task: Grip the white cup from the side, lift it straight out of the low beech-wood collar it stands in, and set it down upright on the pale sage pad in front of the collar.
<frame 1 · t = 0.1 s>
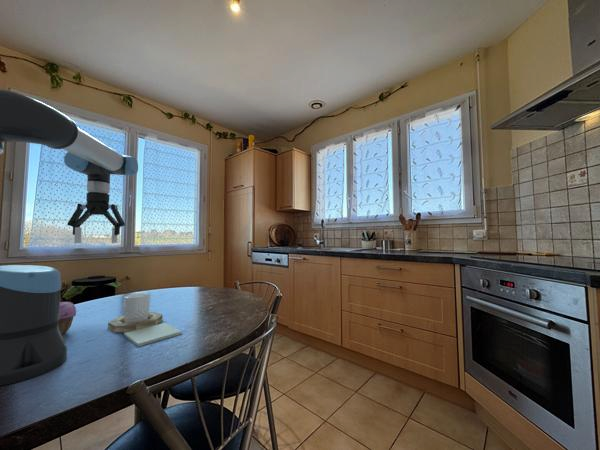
hand: (96, 243, 104), 28 cm above the table, tool pointing down, fingers open, 13 cm apart
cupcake: (56, 335, 77), on the table
pad: (153, 334, 77), on the table
white cup: (136, 324, 86), resting in collar
collar: (136, 324, 86), on the table
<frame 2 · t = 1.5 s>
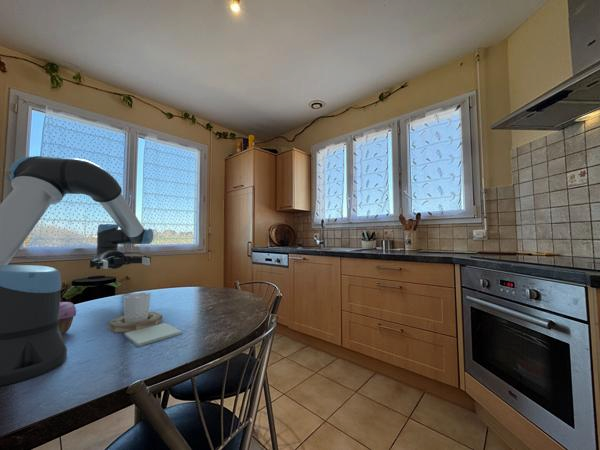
hand: (129, 263, 94), 20 cm above the table, tool horizontal, fingers open, 13 cm apart
nothing on the table moved.
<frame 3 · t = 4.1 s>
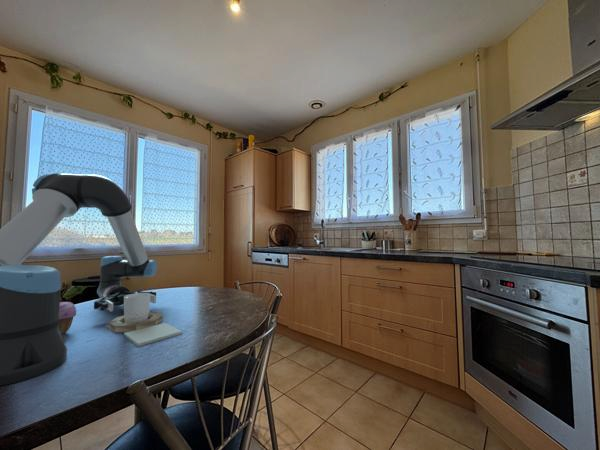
hand: (134, 303, 90), 6 cm above the table, tool horizontal, fingers open, 13 cm apart
nothing on the table moved.
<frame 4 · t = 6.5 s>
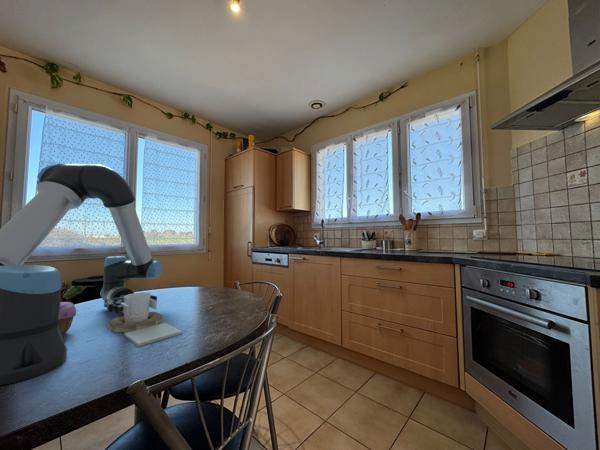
hand: (142, 307, 84), 7 cm above the table, tool horizontal, fingers closed on white cup, 8 cm apart
white cup: (136, 324, 86), resting in collar, touching gripper
everything else where it was.
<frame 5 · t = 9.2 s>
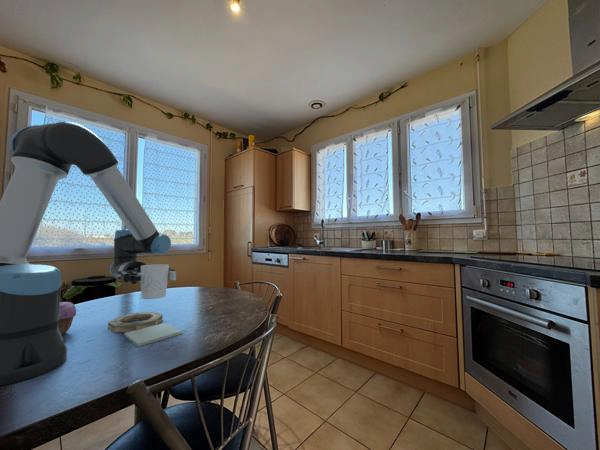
hand: (161, 277, 76), 18 cm above the table, tool horizontal, fingers closed on white cup, 8 cm apart
white cup: (153, 297, 79), point 11 cm above the table, touching gripper
everything else where it was.
when the fingers open (9 cm above the table, at t = 11.9 s): white cup drops 1 cm, resting on pad.
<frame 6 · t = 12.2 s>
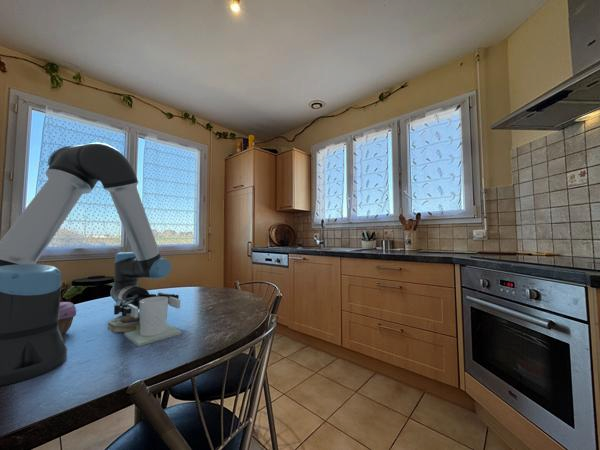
hand: (159, 308, 75), 9 cm above the table, tool horizontal, fingers open, 11 cm apart
white cup: (153, 332, 77), point 1 cm above the table, touching pad
everything else where it was.
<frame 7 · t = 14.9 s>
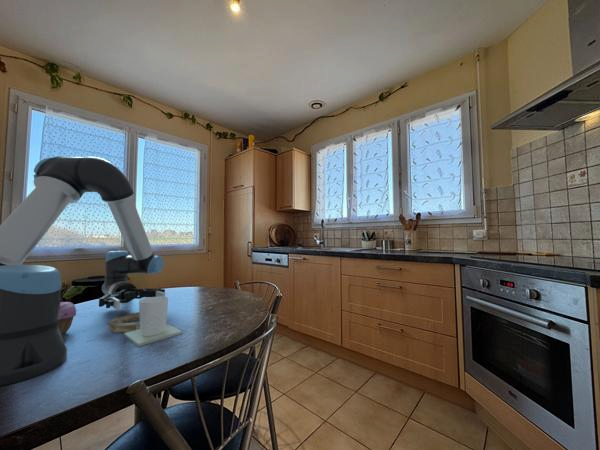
hand: (142, 300, 84), 9 cm above the table, tool horizontal, fingers open, 13 cm apart
nothing on the table moved.
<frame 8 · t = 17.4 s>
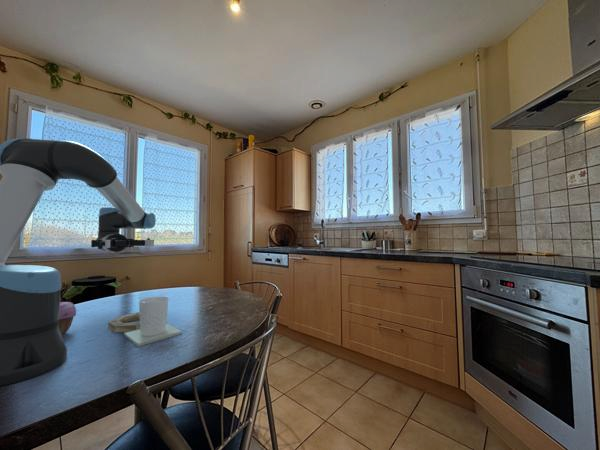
hand: (131, 243, 91), 28 cm above the table, tool horizontal, fingers open, 13 cm apart
nothing on the table moved.
at the end: white cup inside the target area on the pad (0.0 cm from its centre), point 0.6 cm above the pad's base; white cup tilted 0°; the gripper is holding nothing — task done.
